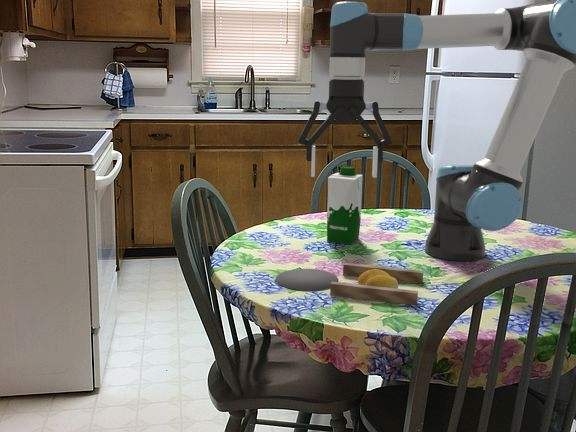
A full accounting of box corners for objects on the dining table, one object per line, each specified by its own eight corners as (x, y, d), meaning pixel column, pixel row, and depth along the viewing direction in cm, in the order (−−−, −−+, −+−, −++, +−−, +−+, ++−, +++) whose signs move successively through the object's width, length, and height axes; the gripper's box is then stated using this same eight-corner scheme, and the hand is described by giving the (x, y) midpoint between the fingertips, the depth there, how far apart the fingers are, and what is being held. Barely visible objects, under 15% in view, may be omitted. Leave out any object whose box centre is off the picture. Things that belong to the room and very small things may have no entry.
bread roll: (371, 298, 133) (372, 280, 132) (352, 284, 141) (353, 267, 140) (406, 294, 136) (407, 276, 135) (385, 280, 144) (386, 263, 143)
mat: (343, 273, 147) (343, 272, 147) (330, 294, 134) (330, 292, 134) (286, 267, 151) (286, 266, 151) (267, 286, 138) (267, 285, 138)
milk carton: (362, 237, 178) (365, 167, 173) (353, 246, 169) (356, 172, 165) (332, 234, 181) (335, 164, 176) (322, 242, 173) (324, 169, 168)
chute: (422, 281, 143) (423, 271, 142) (416, 305, 129) (417, 293, 128) (344, 272, 148) (344, 262, 147) (330, 294, 134) (330, 283, 133)
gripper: (402, 78, 139) (397, 174, 144) (288, 77, 140) (287, 172, 145) (408, 79, 132) (402, 180, 137) (288, 78, 132) (286, 178, 137)
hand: (343, 176), depth 141 cm, fingers open, 13 cm apart
